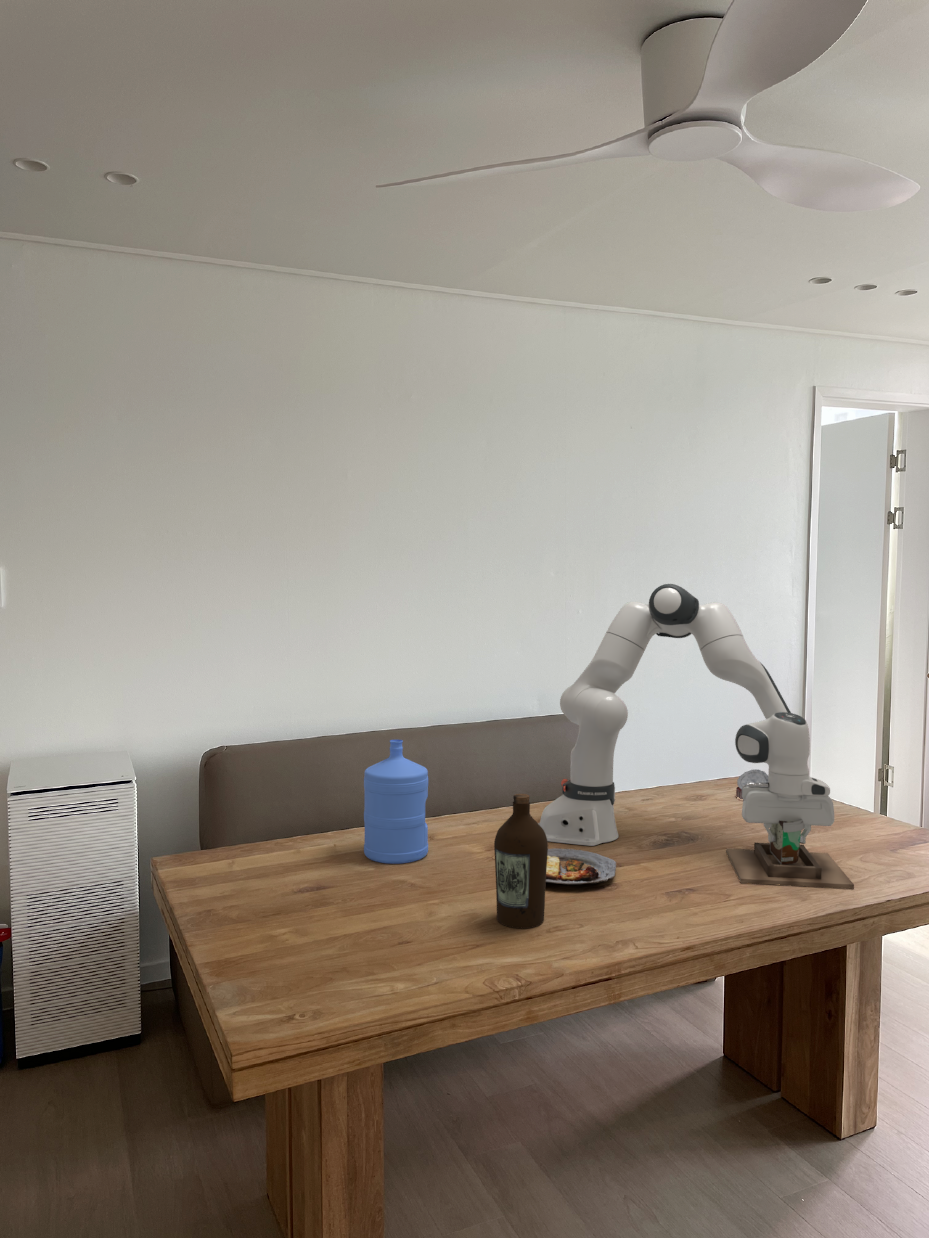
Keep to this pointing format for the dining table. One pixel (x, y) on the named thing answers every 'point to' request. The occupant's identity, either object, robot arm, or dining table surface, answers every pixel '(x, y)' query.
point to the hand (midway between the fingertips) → (786, 842)
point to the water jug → (395, 809)
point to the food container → (786, 841)
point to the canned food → (750, 780)
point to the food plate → (578, 867)
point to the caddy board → (787, 868)
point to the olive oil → (520, 868)
